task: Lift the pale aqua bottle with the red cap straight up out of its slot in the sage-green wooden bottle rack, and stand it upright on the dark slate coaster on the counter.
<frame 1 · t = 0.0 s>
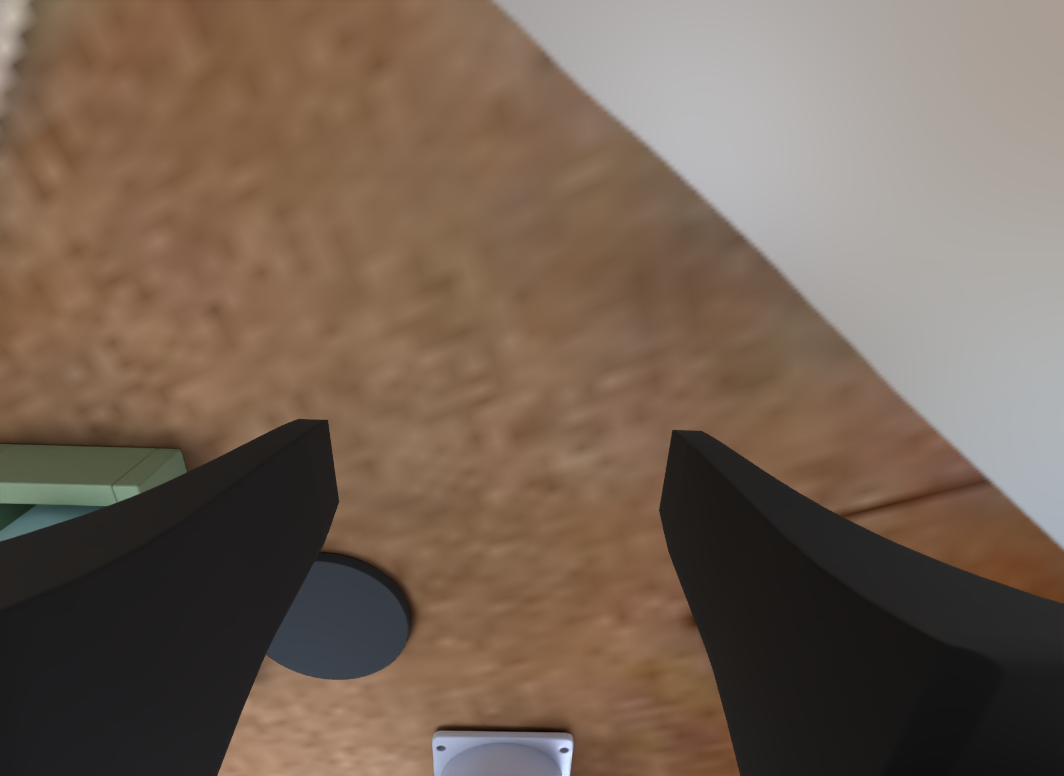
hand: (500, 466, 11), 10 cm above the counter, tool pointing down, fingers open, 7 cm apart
bottle rack: (134, 580, 25), on the counter
coaster: (330, 614, 26), on the counter
bottle: (113, 521, 24), resting in bottle rack
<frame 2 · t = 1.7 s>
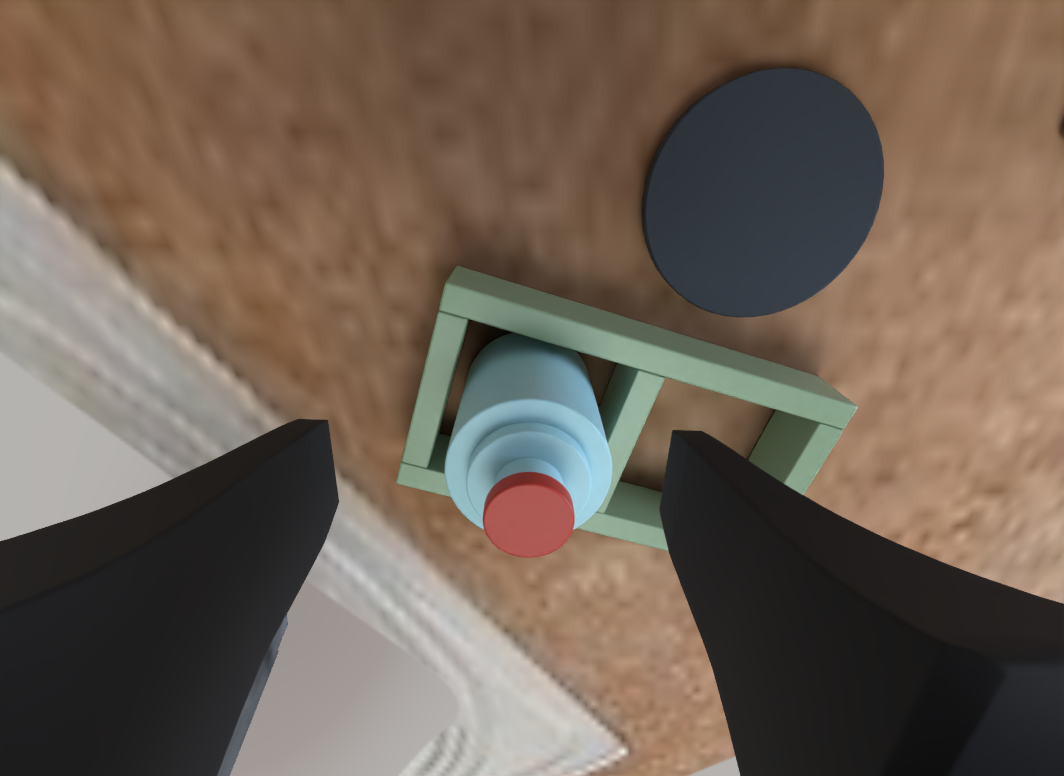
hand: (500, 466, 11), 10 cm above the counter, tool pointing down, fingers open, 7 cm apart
bottle rack: (609, 412, 22), on the counter
beverage cup: (243, 612, 26), on the counter
coaster: (756, 202, 18), on the counter
bottle: (528, 389, 21), resting in bottle rack
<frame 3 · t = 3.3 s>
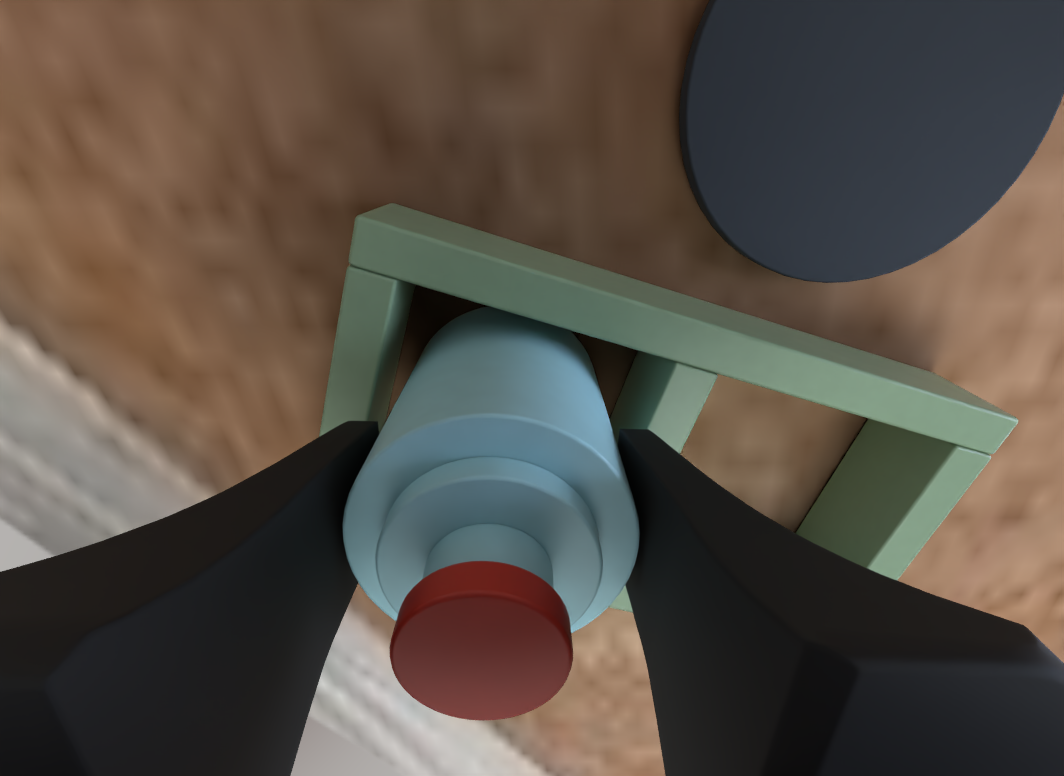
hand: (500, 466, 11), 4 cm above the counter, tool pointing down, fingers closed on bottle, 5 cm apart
bottle rack: (624, 425, 15), on the counter
coaster: (860, 97, 12), on the counter
bottle: (505, 393, 15), resting in bottle rack, touching gripper
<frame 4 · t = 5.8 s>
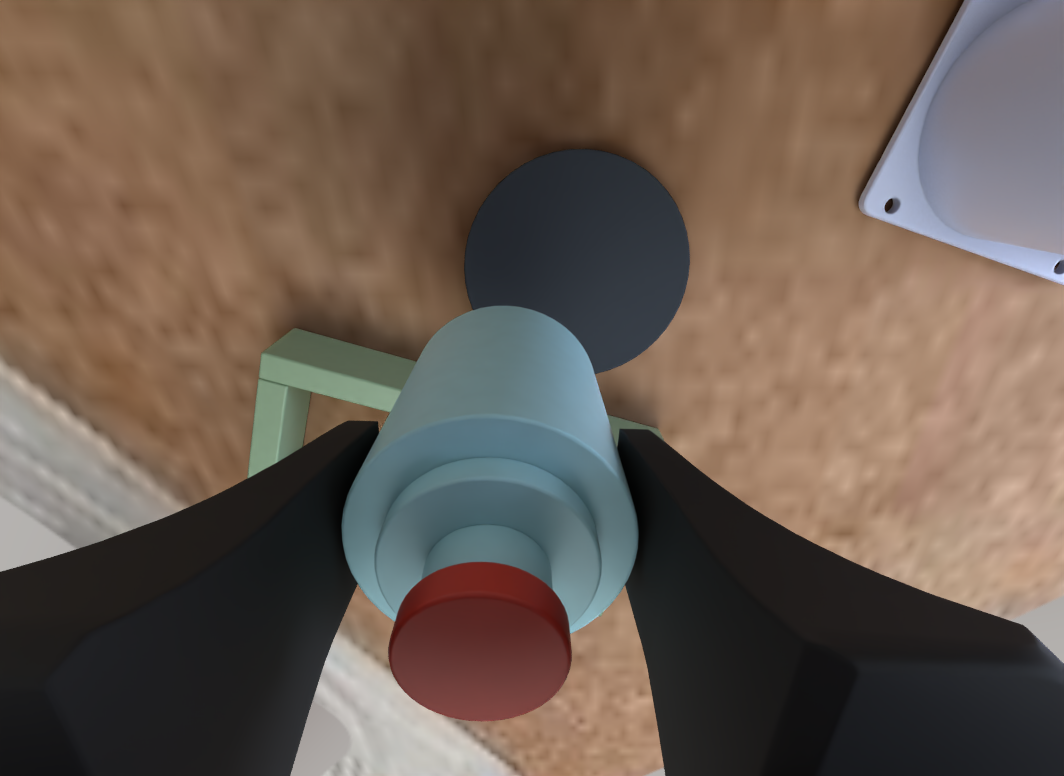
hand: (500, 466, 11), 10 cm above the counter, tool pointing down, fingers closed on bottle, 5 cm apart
bottle rack: (460, 462, 23), on the counter
coaster: (575, 269, 19), on the counter
bottle: (505, 393, 15), point 6 cm above the counter, touching gripper
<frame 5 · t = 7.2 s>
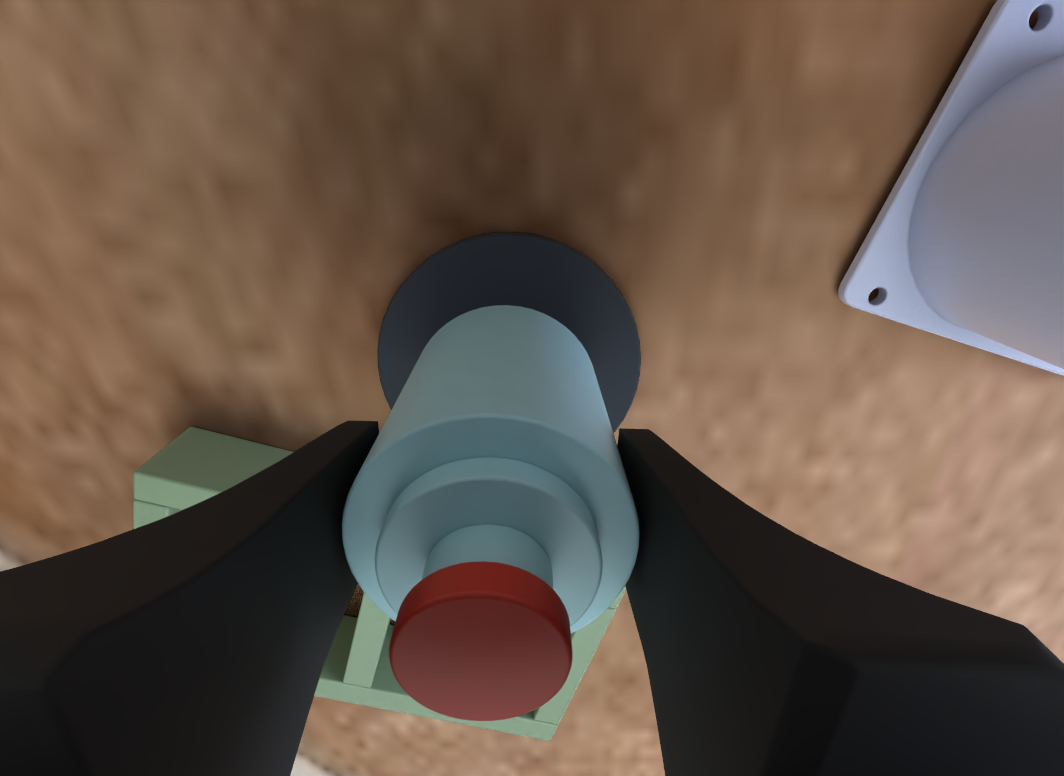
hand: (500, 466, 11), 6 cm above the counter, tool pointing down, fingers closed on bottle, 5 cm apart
bottle rack: (391, 565, 20), on the counter
coaster: (510, 362, 17), on the counter
bottle: (505, 393, 15), point 2 cm above the counter, touching gripper
when the fingers open (4 cm above the counter, at t = 8.3 s): bottle stays where it is, resting on coaster.
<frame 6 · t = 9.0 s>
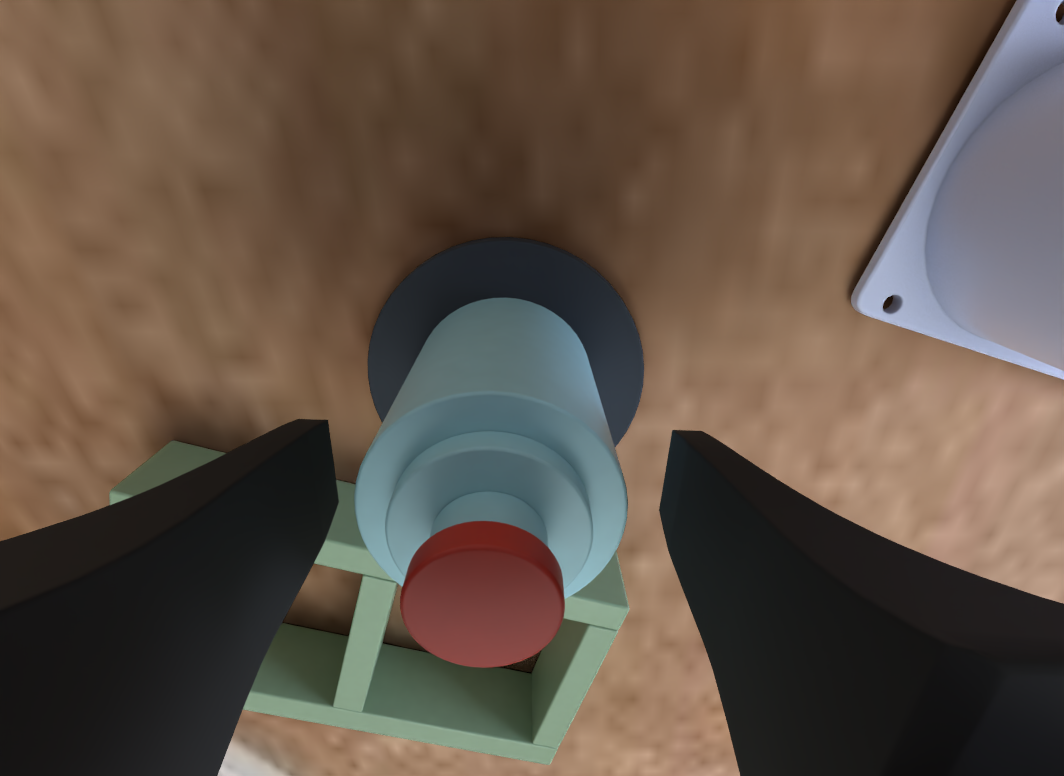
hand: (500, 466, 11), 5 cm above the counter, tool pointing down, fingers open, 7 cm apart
bottle rack: (384, 582, 19), on the counter
coaster: (507, 373, 16), on the counter
bottle: (504, 381, 15), point 1 cm above the counter, touching coaster
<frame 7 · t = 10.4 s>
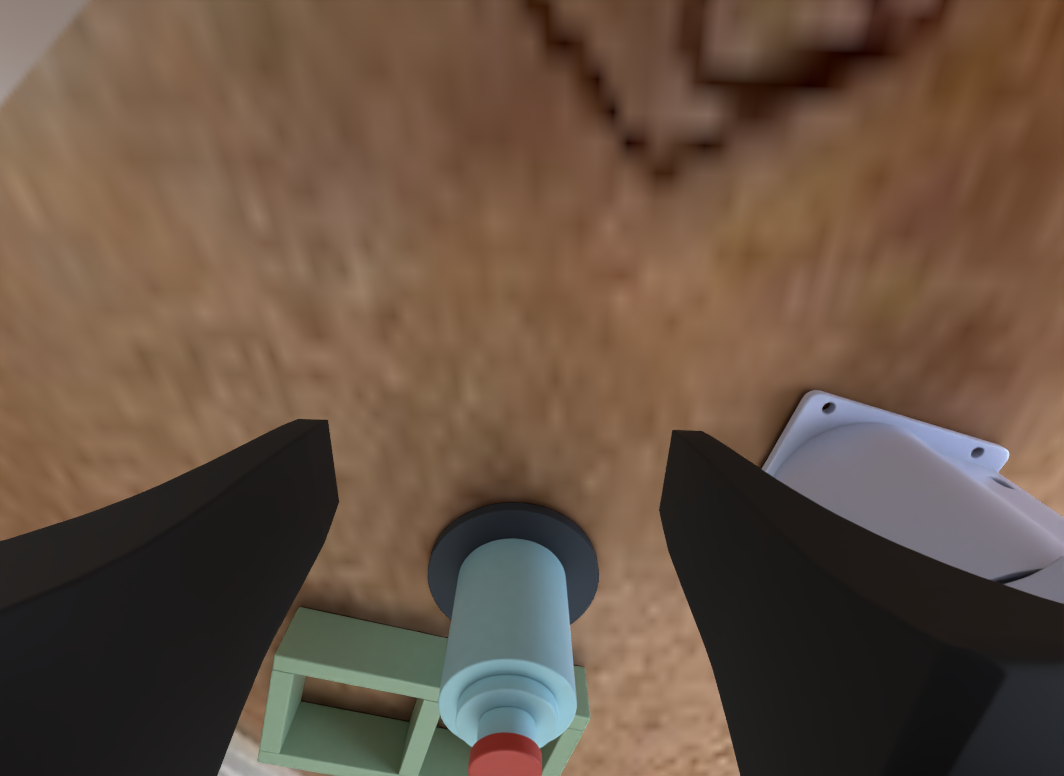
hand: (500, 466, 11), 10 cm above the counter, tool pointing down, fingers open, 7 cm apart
bottle rack: (429, 688, 28), on the counter
coaster: (513, 571, 25), on the counter
bottle: (512, 580, 25), point 1 cm above the counter, touching coaster
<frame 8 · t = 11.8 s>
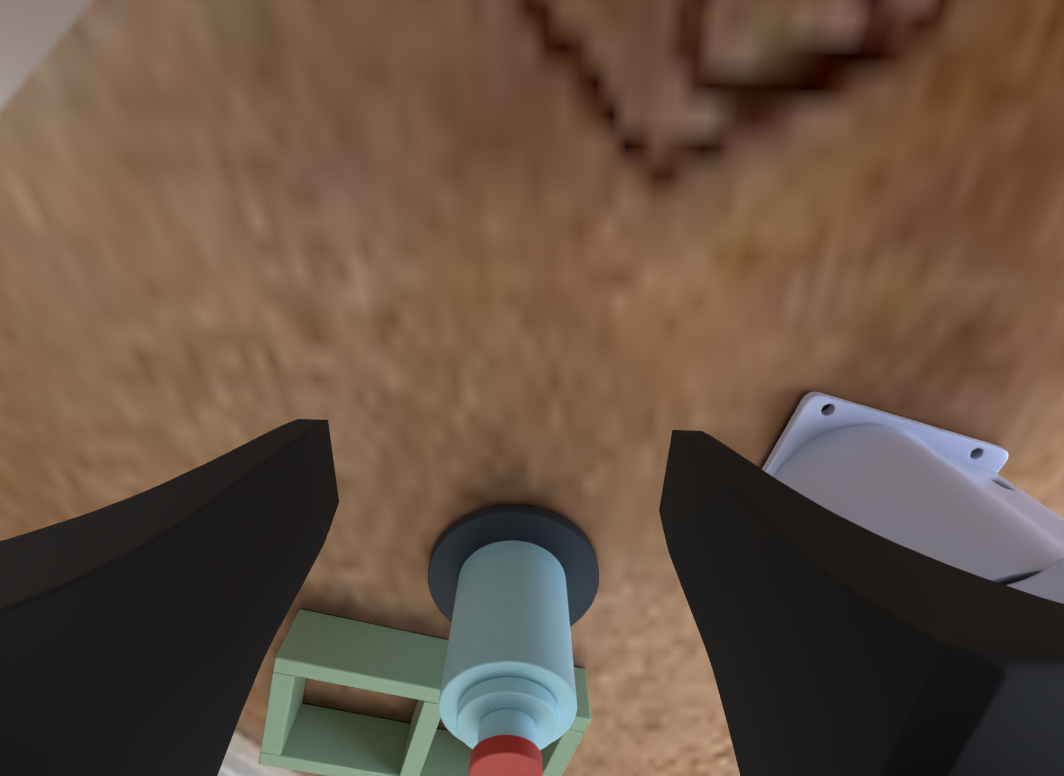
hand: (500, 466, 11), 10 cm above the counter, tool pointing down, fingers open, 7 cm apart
bottle rack: (430, 689, 29), on the counter
coaster: (513, 572, 25), on the counter
bottle: (512, 582, 25), point 1 cm above the counter, touching coaster
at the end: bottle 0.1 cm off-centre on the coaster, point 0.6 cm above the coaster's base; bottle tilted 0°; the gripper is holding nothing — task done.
